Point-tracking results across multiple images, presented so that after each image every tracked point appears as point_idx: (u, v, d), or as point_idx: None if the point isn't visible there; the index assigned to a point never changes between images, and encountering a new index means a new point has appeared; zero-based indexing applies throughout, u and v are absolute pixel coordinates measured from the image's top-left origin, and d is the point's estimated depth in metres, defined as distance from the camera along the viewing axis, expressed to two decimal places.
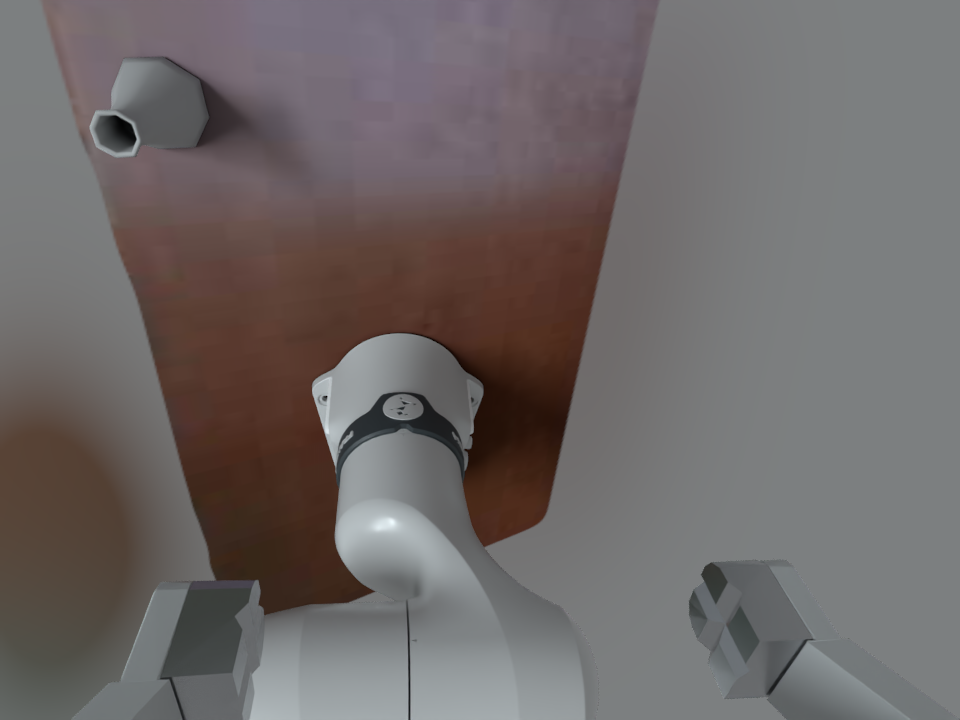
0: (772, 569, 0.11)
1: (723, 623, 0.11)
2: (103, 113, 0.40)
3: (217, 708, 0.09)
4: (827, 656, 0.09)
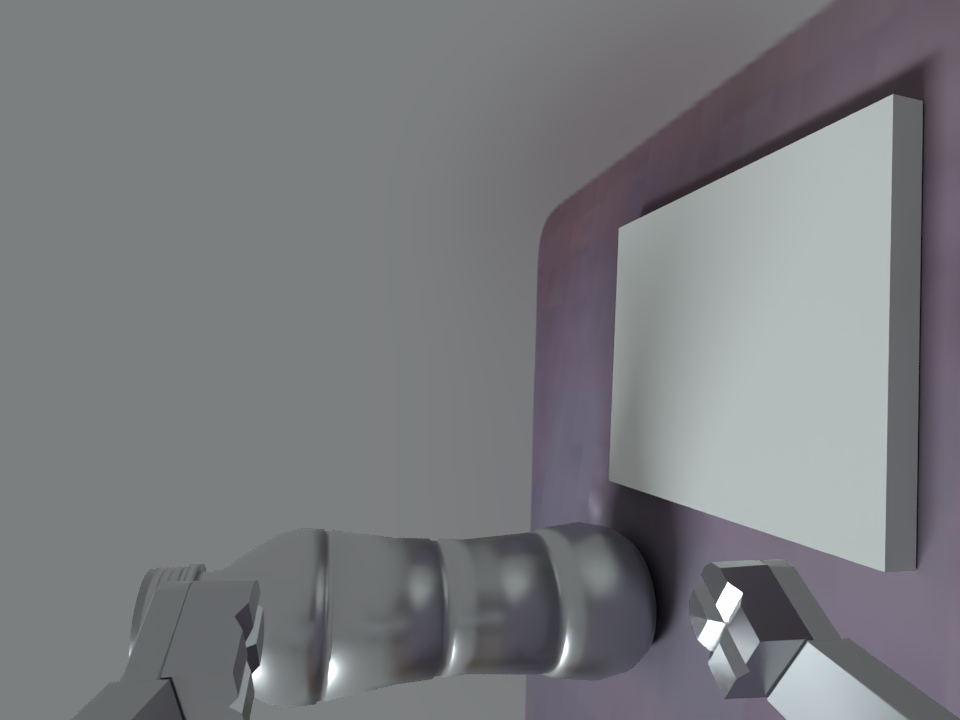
0: (772, 569, 0.11)
1: (723, 623, 0.11)
2: None
3: (217, 708, 0.09)
4: (827, 656, 0.09)
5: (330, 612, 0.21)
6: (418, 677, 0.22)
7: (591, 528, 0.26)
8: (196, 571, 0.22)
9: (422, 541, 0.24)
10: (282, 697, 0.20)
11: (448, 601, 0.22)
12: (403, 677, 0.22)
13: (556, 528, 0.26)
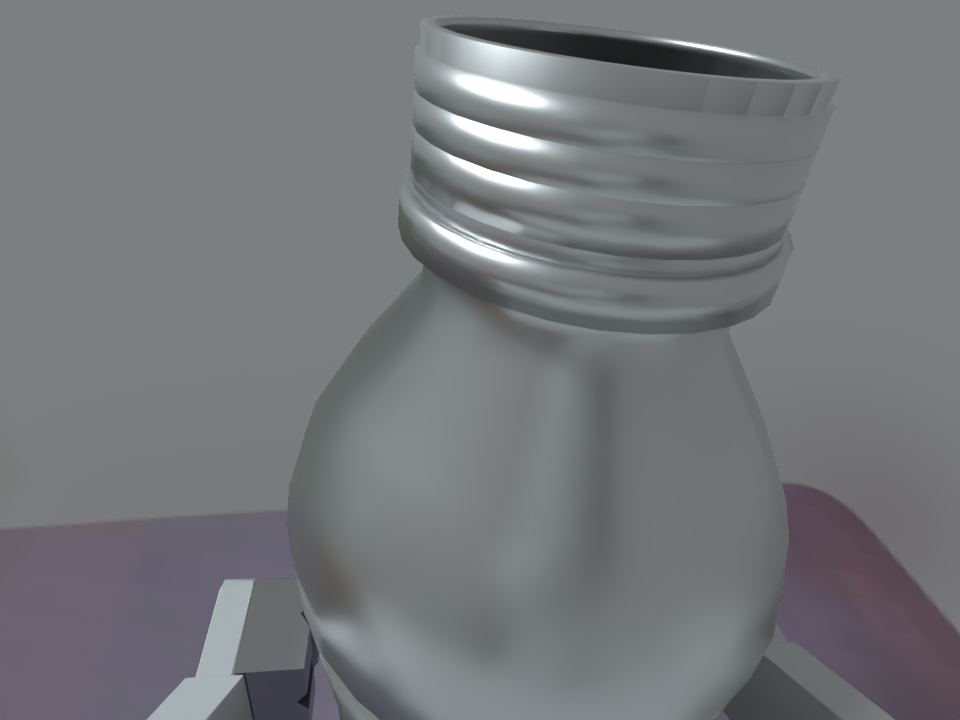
0: None
1: None
2: None
3: (285, 703, 0.09)
4: (770, 660, 0.09)
5: None
6: None
7: None
8: None
9: None
10: (392, 663, 0.06)
11: None
12: None
13: None
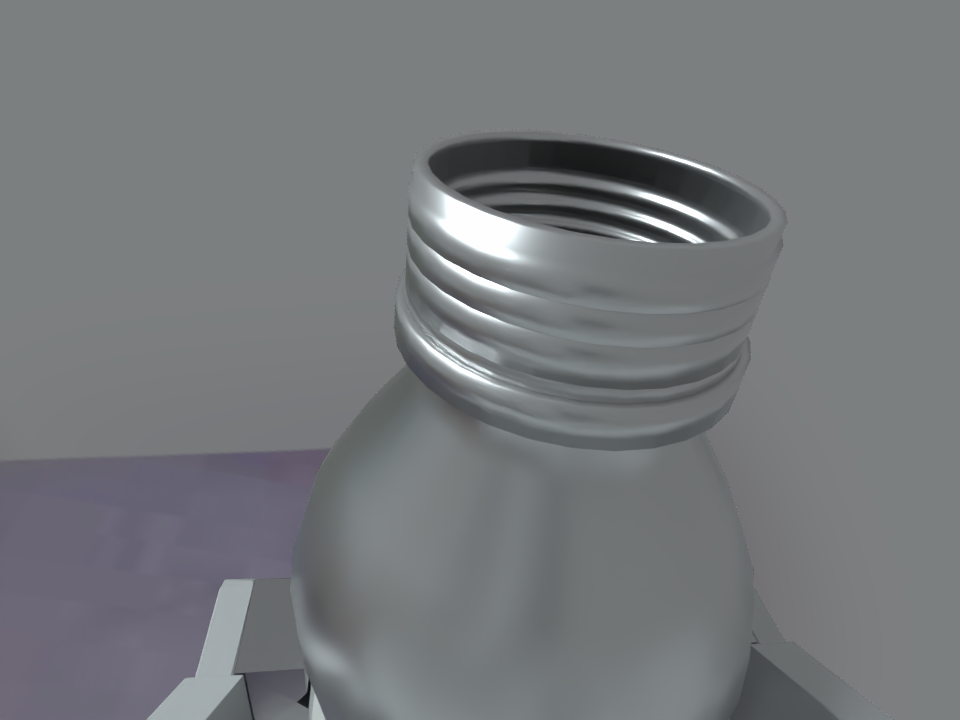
0: None
1: None
2: None
3: (285, 703, 0.09)
4: (769, 660, 0.09)
5: None
6: None
7: None
8: None
9: None
10: None
11: None
12: None
13: None
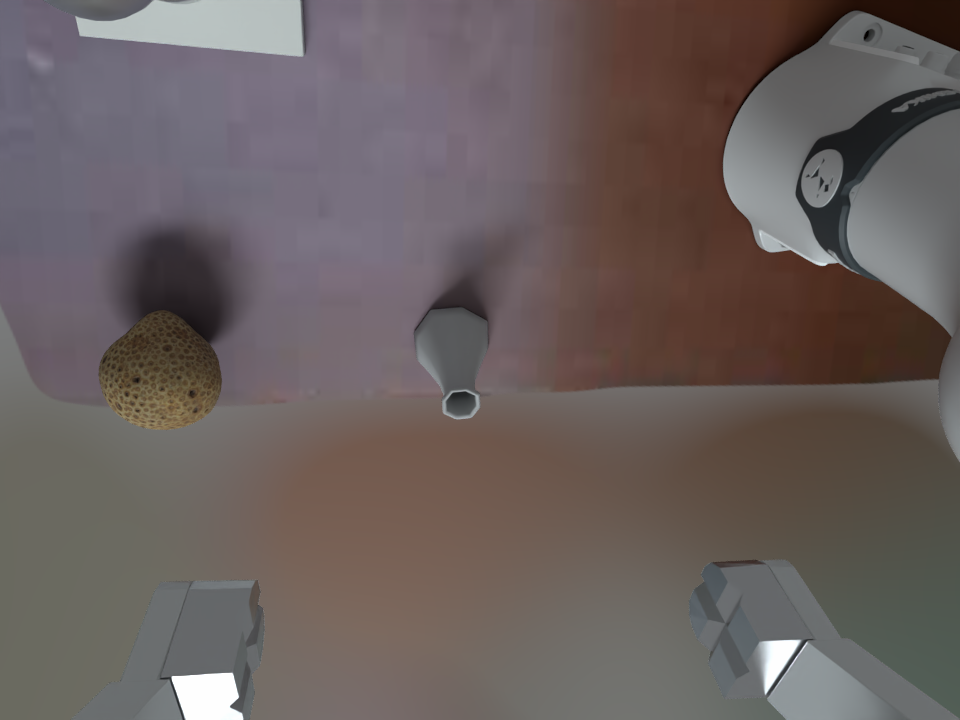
0: (773, 569, 0.11)
1: (723, 623, 0.11)
2: (444, 409, 0.48)
3: (217, 708, 0.09)
4: (827, 656, 0.09)
5: None
6: None
7: None
8: None
9: None
10: None
11: None
12: None
13: None
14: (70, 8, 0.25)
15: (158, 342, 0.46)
